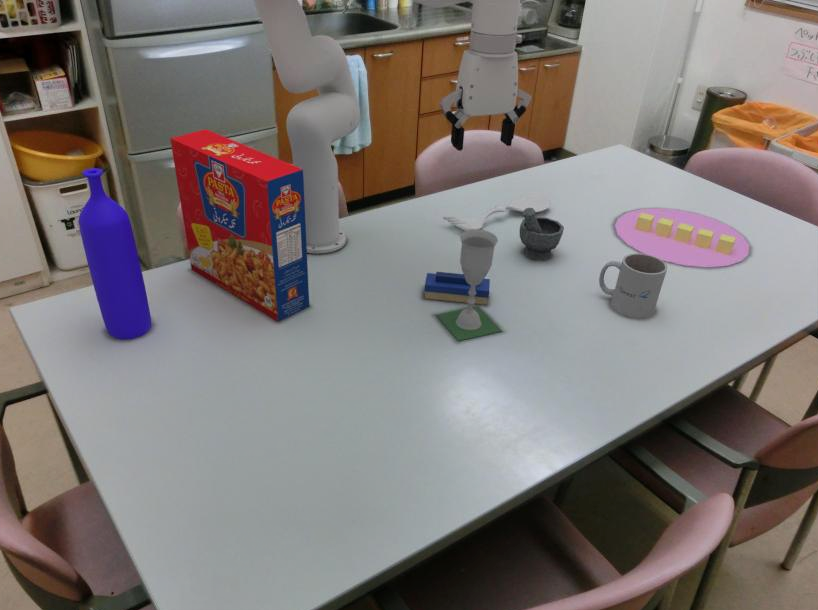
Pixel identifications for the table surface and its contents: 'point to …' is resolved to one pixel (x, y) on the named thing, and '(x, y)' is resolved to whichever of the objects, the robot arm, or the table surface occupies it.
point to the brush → (454, 288)
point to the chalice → (475, 270)
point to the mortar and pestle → (539, 234)
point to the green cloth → (463, 334)
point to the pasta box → (244, 221)
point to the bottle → (113, 262)
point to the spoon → (518, 204)
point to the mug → (636, 284)
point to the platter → (682, 237)
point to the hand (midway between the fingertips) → (481, 145)
